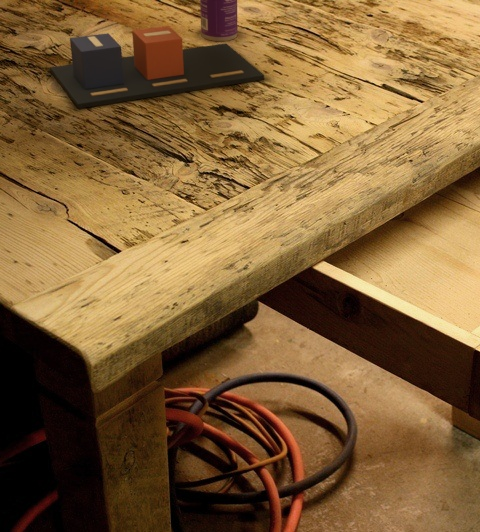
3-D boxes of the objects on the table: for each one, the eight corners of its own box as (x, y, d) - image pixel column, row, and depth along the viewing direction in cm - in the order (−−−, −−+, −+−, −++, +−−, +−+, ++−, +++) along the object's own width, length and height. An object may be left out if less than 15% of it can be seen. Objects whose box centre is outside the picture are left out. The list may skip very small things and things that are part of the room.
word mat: (78, 109, 99) (77, 102, 99) (50, 71, 107) (49, 66, 107) (264, 79, 109) (264, 74, 109) (226, 47, 117) (226, 42, 116)
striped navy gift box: (85, 89, 102) (81, 50, 100) (73, 75, 105) (69, 36, 103) (124, 84, 104) (121, 45, 102) (111, 69, 107) (108, 32, 105)
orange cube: (147, 80, 105) (145, 42, 103) (134, 66, 108) (131, 29, 106) (184, 74, 107) (182, 37, 105) (170, 61, 110) (168, 24, 108)
